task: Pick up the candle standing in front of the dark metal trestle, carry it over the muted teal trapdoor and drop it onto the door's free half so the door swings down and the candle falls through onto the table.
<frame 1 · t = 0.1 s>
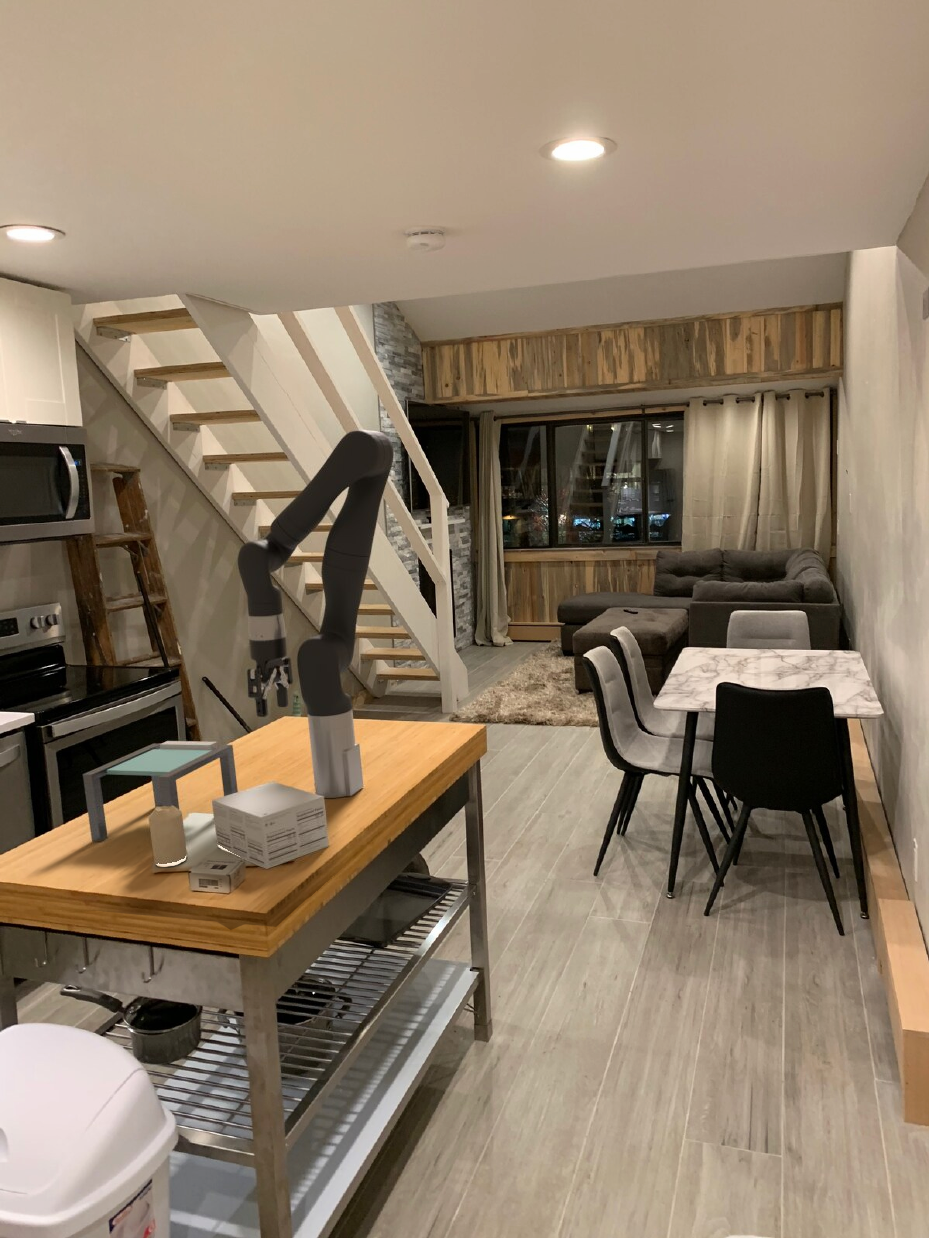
hand: (273, 711, 196), 17 cm above the countertop, tool pointing down, fingers open, 8 cm apart
trapdoor: (166, 759, 182), point 12 cm above the countertop, hinge at 0.0°
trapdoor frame: (168, 823, 182), on the countertop
candle: (171, 862, 162), on the countertop
supplement box: (273, 848, 165), on the countertop
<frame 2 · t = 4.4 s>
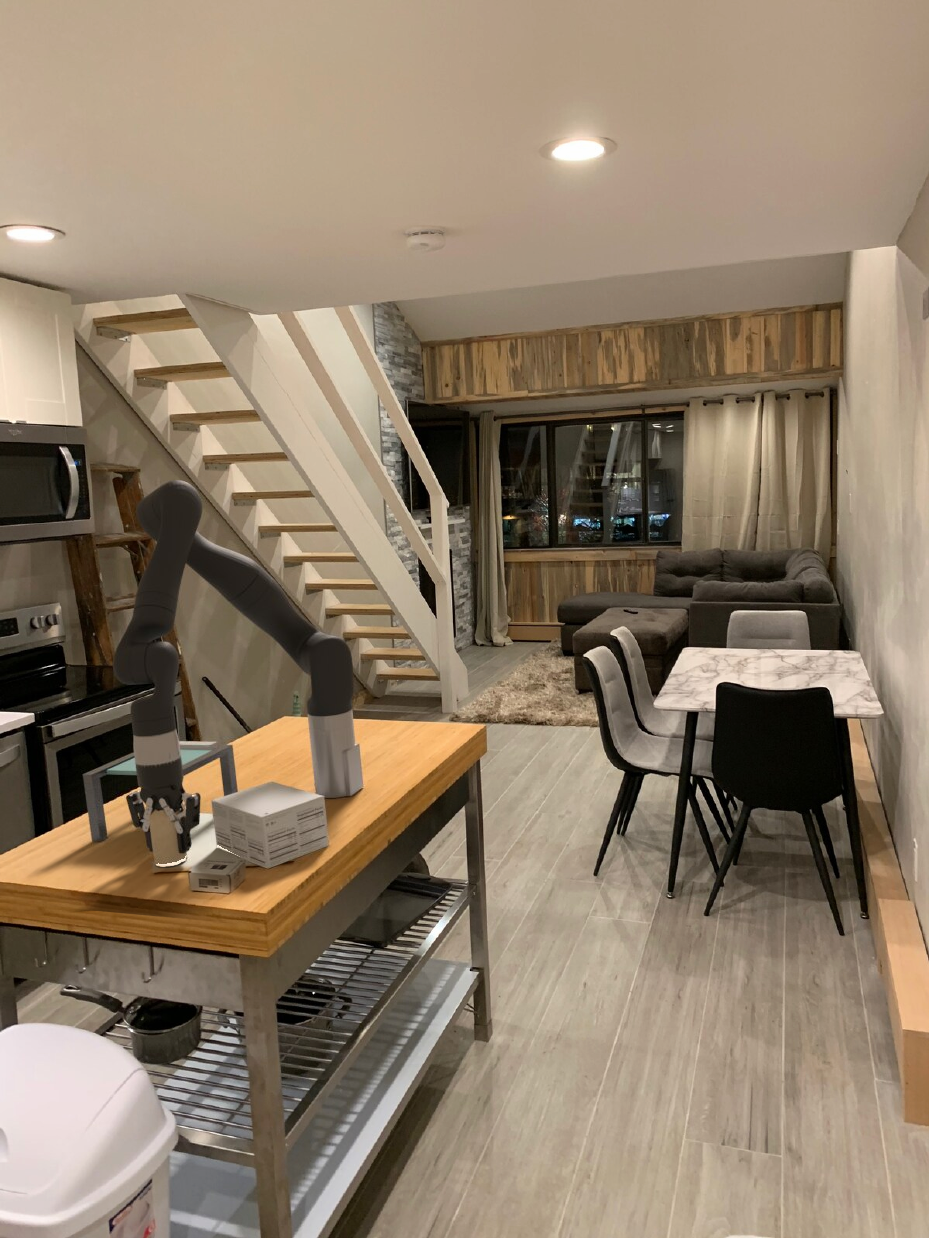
hand: (169, 850, 161), 2 cm above the countertop, tool pointing down, fingers closed on candle, 5 cm apart
candle: (171, 862, 162), on the countertop, touching gripper
everything else where it was.
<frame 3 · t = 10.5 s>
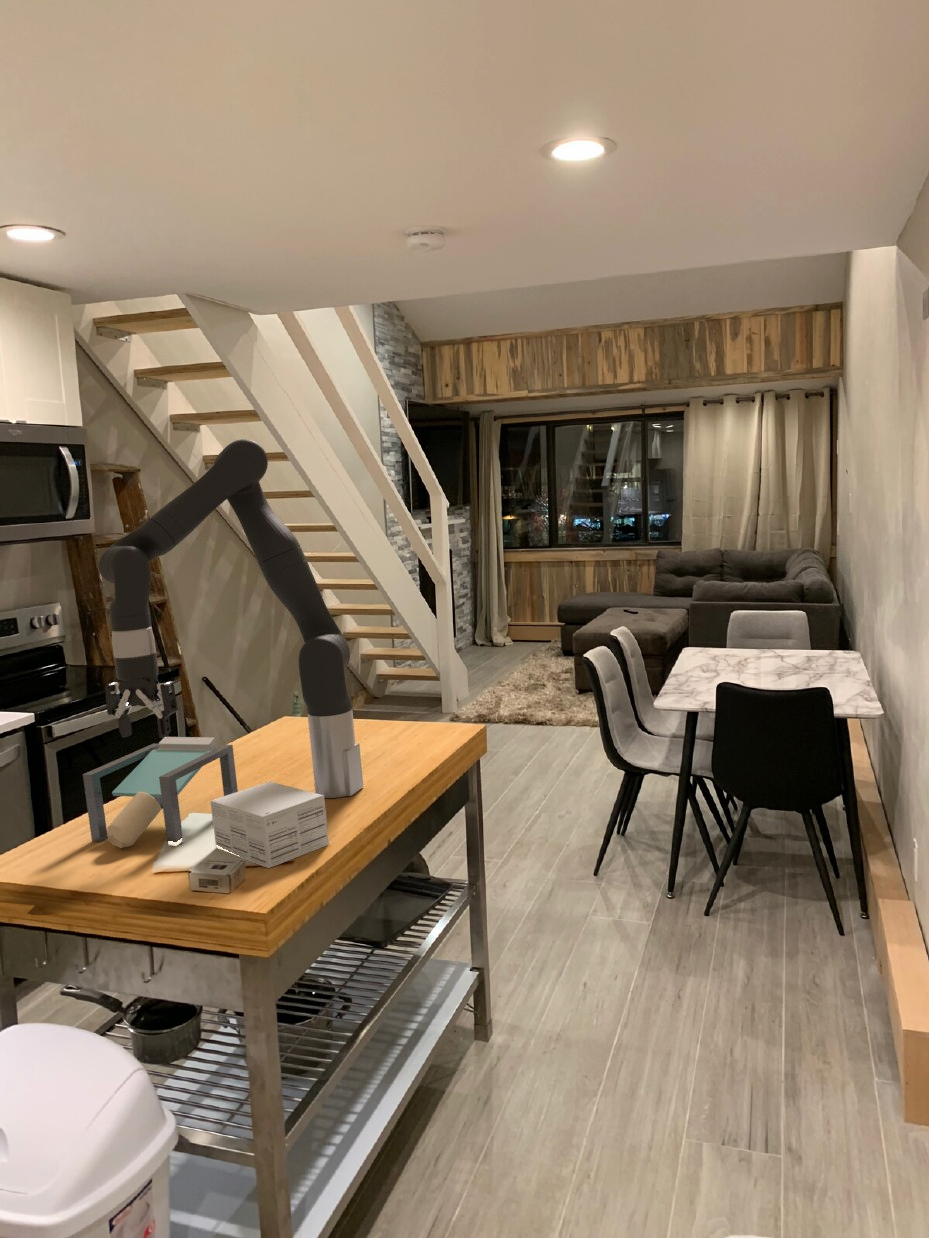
hand: (145, 736, 176), 19 cm above the countertop, tool pointing down, fingers open, 8 cm apart
trapdoor: (168, 767, 182), point 11 cm above the countertop, hinge at -19.2°, touching candle
candle: (149, 800, 175), point 7 cm above the countertop, touching trapdoor
everything else where it was.
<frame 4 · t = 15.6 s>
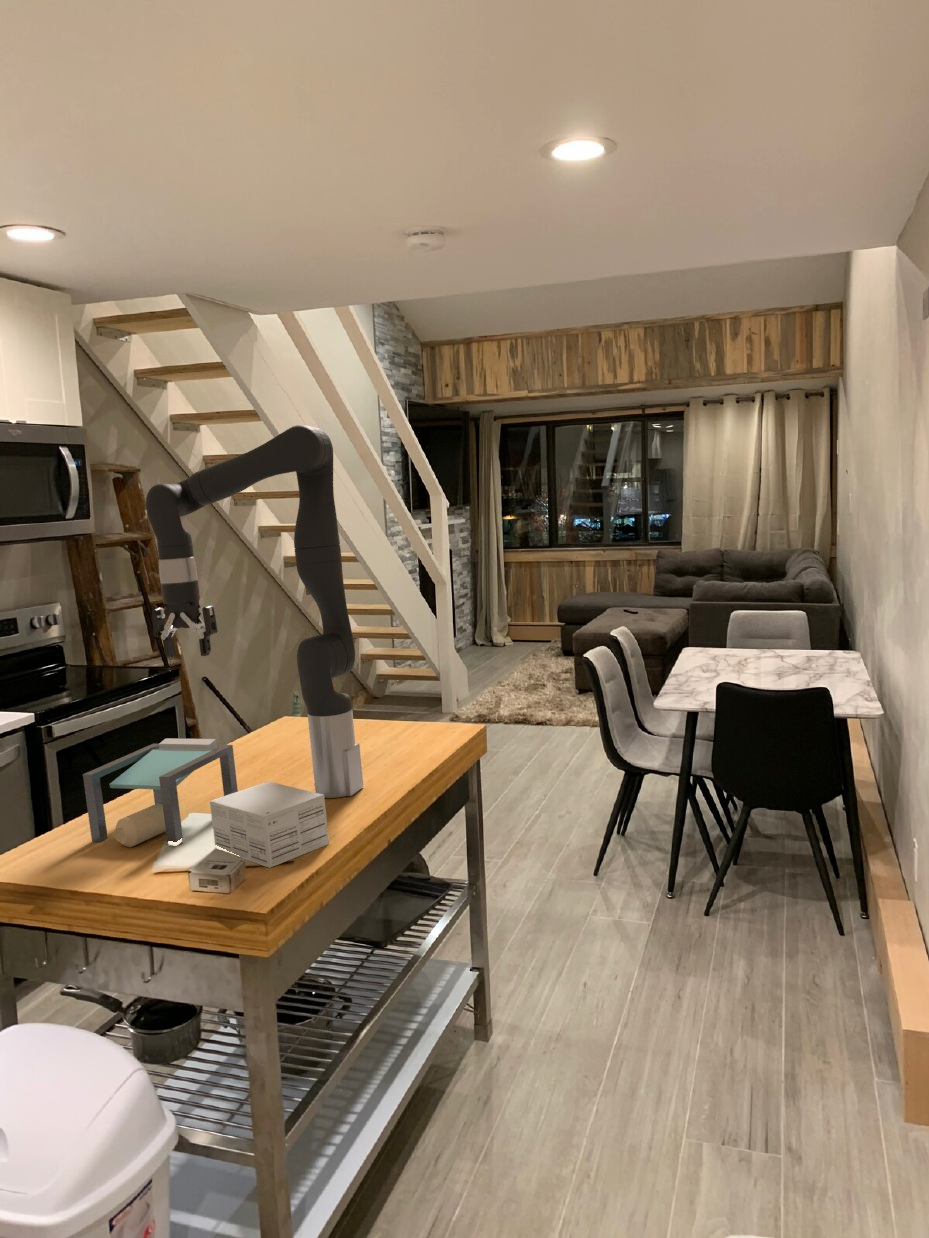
hand: (188, 656, 196), 30 cm above the countertop, tool pointing down, fingers open, 8 cm apart
trapdoor: (167, 764, 182), point 11 cm above the countertop, hinge at -11.6°
candle: (162, 816, 178), point 3 cm above the countertop
everything else where it was.
at the end: candle point 2.7 cm above the countertop; the gripper is holding nothing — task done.
